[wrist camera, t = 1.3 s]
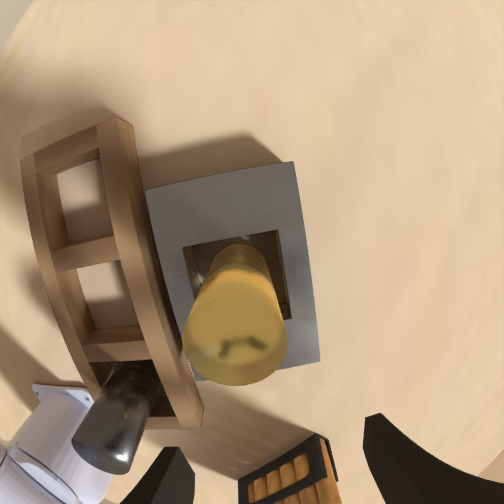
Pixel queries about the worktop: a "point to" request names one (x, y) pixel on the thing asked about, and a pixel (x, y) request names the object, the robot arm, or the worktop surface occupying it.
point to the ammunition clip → (294, 477)
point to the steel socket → (234, 225)
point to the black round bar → (118, 417)
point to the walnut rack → (101, 251)
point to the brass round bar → (236, 320)
